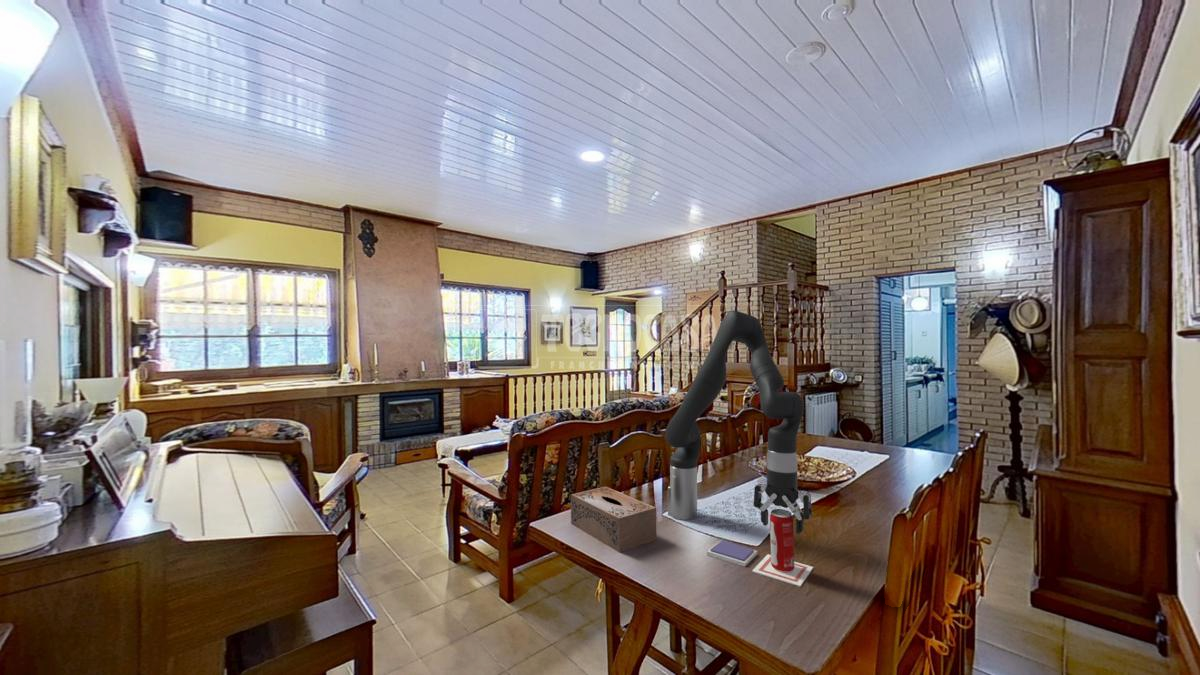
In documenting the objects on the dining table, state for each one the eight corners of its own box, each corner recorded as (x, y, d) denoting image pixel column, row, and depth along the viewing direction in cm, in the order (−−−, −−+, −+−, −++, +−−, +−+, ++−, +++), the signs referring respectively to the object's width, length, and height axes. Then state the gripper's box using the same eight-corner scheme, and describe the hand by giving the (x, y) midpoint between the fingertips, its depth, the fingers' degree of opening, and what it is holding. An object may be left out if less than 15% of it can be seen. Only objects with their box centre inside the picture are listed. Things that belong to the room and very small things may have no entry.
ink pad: (707, 555, 131) (707, 549, 131) (720, 543, 138) (720, 538, 138) (745, 566, 124) (745, 561, 124) (757, 554, 131) (757, 549, 131)
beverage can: (793, 564, 125) (792, 508, 125) (795, 576, 119) (795, 517, 119) (769, 561, 127) (769, 506, 127) (771, 572, 120) (770, 515, 120)
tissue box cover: (570, 524, 154) (570, 494, 154) (605, 514, 162) (605, 486, 162) (619, 553, 133) (618, 518, 133) (656, 540, 141) (656, 507, 141)
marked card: (752, 571, 122) (752, 570, 122) (767, 555, 131) (767, 553, 131) (800, 586, 114) (800, 585, 114) (813, 568, 123) (813, 566, 123)
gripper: (814, 469, 121) (814, 531, 121) (760, 460, 130) (760, 517, 130) (806, 475, 115) (806, 541, 115) (750, 465, 124) (749, 526, 124)
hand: (781, 528), depth 123 cm, fingers open, 8 cm apart
